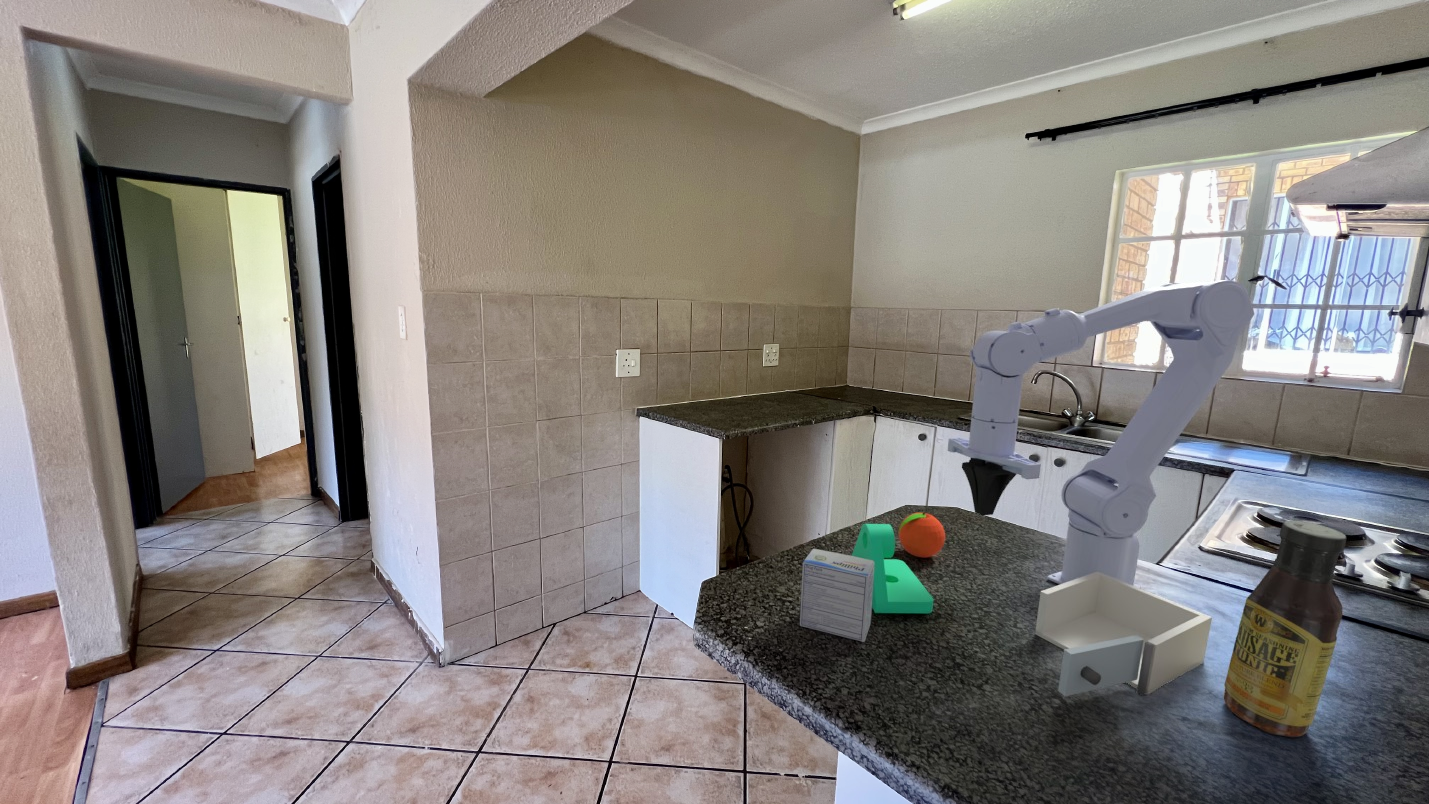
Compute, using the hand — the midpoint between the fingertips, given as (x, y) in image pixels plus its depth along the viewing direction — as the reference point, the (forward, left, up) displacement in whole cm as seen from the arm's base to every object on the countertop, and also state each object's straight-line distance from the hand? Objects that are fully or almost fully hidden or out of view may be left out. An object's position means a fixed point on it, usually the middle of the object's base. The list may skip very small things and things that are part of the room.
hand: (983, 513), depth 79 cm
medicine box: (+26, 0, -11) cm, 28 cm away
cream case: (-1, +18, -10) cm, 21 cm away
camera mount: (+14, -3, -11) cm, 18 cm away
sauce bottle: (-2, +31, -11) cm, 33 cm away
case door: (+10, +22, -9) cm, 26 cm away
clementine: (+1, -10, -11) cm, 15 cm away
